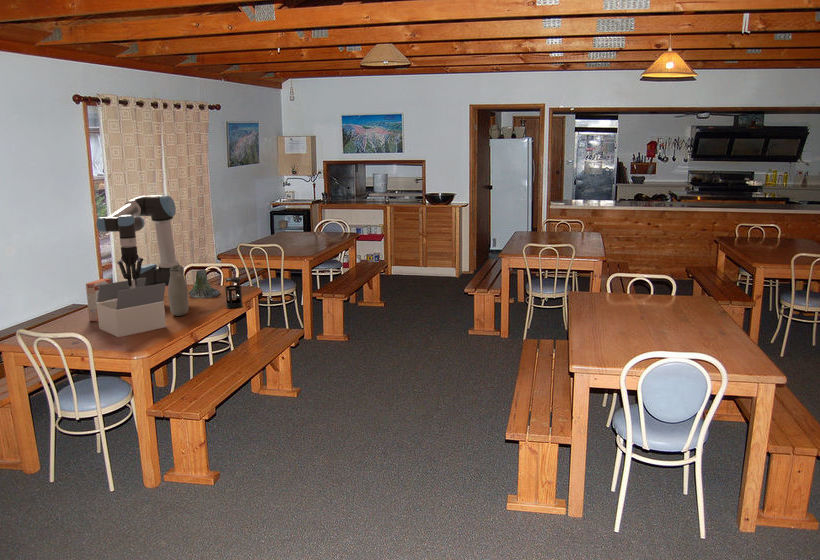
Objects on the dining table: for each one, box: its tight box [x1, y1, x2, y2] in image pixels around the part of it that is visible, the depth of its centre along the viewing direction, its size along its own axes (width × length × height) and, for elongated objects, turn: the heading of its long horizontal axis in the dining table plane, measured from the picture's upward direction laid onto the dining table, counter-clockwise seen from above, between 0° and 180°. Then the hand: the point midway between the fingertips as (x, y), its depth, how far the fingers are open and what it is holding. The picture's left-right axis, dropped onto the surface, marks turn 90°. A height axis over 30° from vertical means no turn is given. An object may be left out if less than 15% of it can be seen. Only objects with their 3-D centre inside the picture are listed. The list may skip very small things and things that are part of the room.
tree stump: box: [188, 269, 221, 299], centre depth 429 cm, size 18×20×18 cm
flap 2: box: [116, 283, 166, 310], centre depth 344 cm, size 24×11×1 cm
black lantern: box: [224, 267, 244, 310], centre depth 396 cm, size 12×9×23 cm
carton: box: [97, 299, 167, 338], centre depth 355 cm, size 25×23×14 cm
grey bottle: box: [167, 264, 189, 317], centre depth 378 cm, size 10×10×28 cm
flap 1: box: [97, 278, 146, 302], centre depth 359 cm, size 24×11×1 cm
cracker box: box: [85, 278, 114, 323], centre depth 374 cm, size 14×6×21 cm, turn 168°
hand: (133, 291), depth 350 cm, fingers closed
